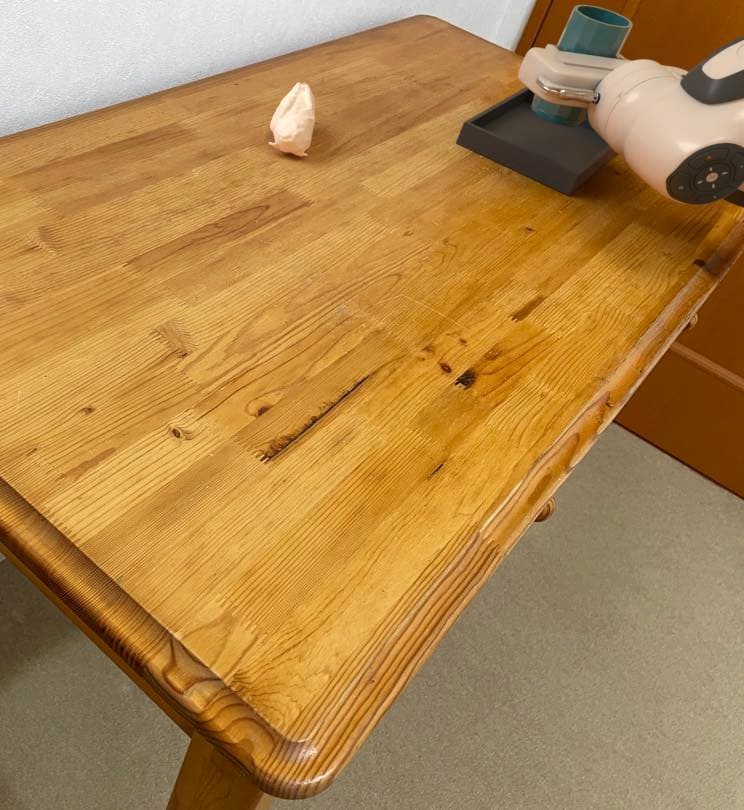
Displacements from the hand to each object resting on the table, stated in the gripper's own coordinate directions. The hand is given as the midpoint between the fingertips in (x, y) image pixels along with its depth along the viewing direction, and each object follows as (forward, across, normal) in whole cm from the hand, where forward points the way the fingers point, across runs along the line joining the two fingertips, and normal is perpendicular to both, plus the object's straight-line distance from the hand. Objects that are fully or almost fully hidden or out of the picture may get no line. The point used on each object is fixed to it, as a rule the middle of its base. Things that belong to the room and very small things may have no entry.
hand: (580, 55), depth 103 cm
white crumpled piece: (-8, -35, -12) cm, 38 cm away
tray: (-1, 0, -12) cm, 12 cm away
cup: (-1, 0, -7) cm, 7 cm away
